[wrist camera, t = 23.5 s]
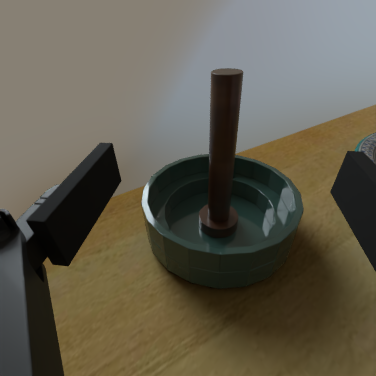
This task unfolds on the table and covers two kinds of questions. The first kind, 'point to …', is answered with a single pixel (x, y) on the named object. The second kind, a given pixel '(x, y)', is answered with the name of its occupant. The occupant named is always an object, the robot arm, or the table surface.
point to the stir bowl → (228, 246)
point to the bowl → (368, 146)
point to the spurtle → (222, 153)
